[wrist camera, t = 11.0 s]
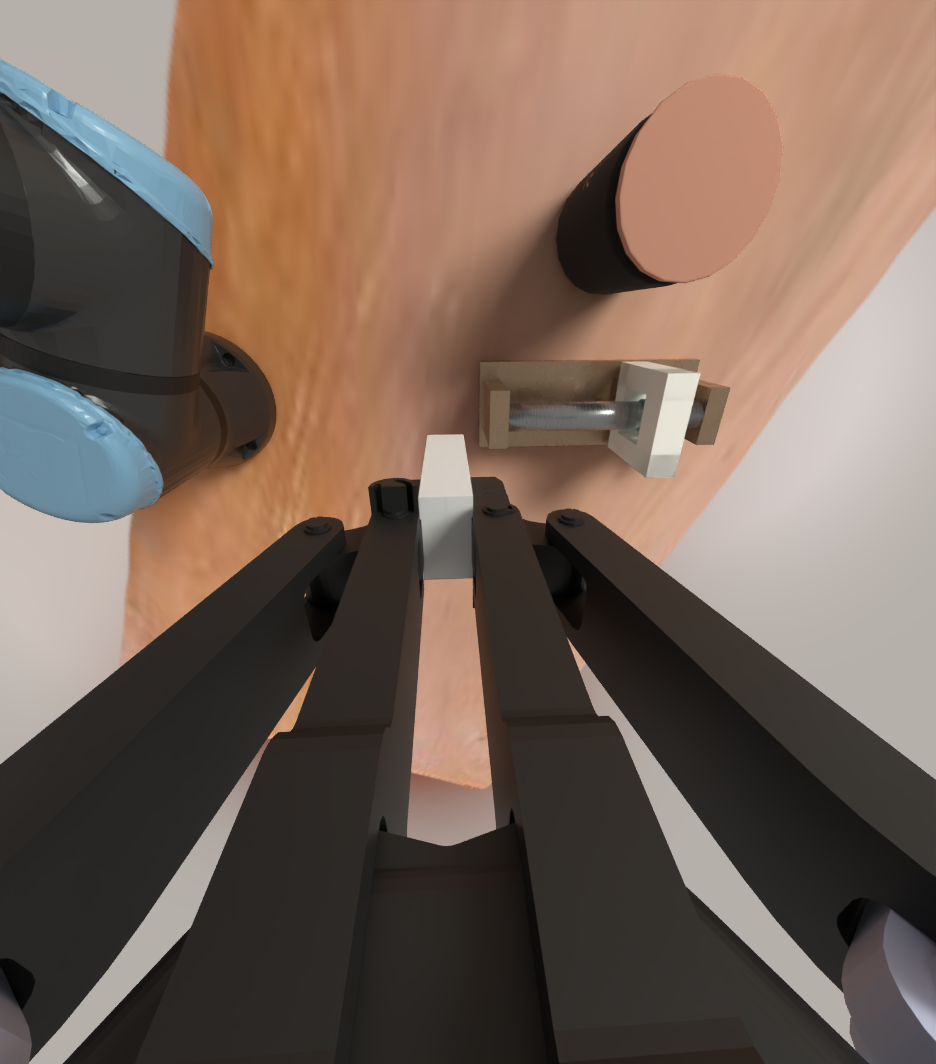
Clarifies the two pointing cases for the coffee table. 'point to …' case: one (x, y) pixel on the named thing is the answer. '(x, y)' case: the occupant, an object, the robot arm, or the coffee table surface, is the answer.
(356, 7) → the coffee table surface
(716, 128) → the coffee jar
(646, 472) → the collar
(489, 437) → the rail
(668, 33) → the coffee table surface
